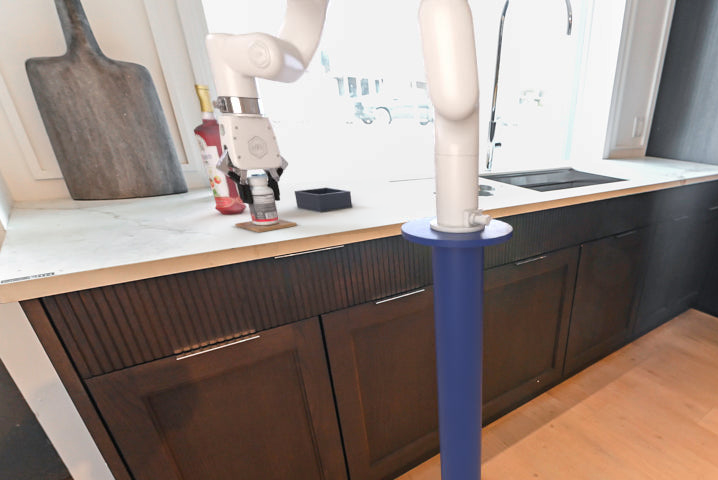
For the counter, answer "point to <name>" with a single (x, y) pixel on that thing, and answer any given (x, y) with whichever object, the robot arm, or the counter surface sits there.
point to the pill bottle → (262, 202)
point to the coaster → (262, 228)
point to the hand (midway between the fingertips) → (261, 200)
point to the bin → (323, 199)
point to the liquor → (215, 157)
